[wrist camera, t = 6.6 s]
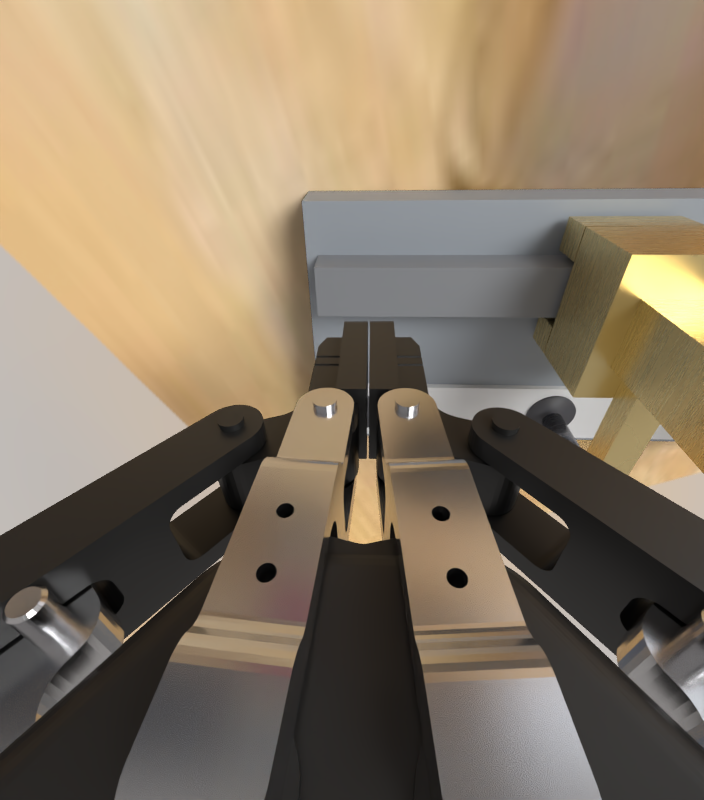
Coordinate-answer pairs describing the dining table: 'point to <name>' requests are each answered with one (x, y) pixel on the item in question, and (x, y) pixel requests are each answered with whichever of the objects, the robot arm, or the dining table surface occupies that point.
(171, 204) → the dining table surface
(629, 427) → the slider
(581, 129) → the dining table surface
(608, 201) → the board
